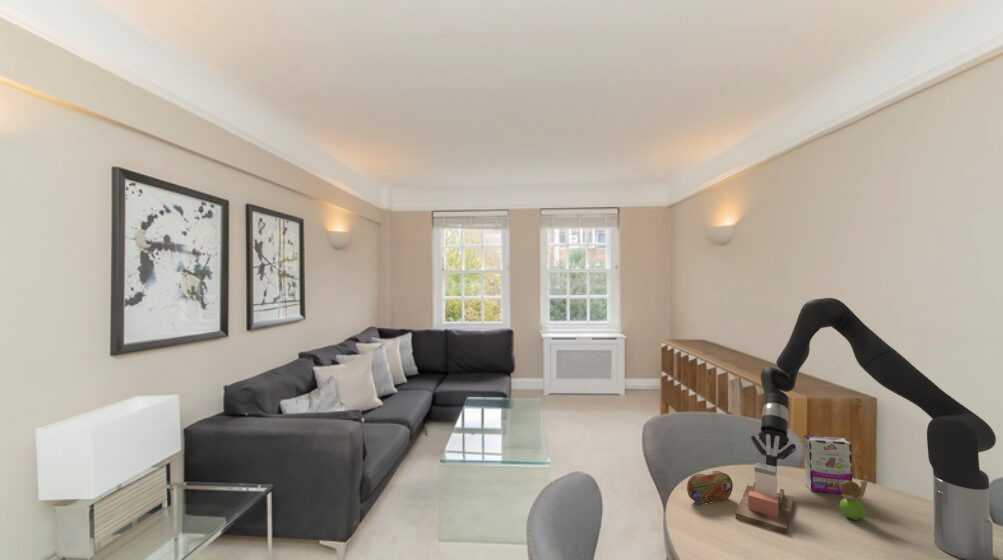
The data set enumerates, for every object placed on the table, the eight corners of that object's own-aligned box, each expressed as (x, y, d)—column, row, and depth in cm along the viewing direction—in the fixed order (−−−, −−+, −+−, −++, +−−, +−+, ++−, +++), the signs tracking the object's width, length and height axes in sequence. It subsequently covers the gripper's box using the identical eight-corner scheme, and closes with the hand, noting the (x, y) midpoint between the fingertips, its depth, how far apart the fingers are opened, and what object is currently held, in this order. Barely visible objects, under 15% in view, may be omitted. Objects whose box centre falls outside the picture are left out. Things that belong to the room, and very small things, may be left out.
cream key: (777, 500, 122) (776, 466, 122) (775, 506, 119) (775, 472, 119) (757, 495, 125) (756, 462, 125) (755, 501, 122) (754, 467, 122)
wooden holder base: (793, 502, 125) (793, 490, 125) (787, 534, 109) (786, 521, 109) (747, 489, 132) (747, 478, 132) (735, 518, 117) (735, 505, 117)
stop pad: (778, 512, 117) (778, 498, 117) (777, 517, 114) (777, 503, 114) (750, 504, 121) (749, 490, 121) (748, 509, 119) (748, 495, 119)
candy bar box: (845, 488, 132) (844, 437, 132) (853, 496, 127) (852, 443, 127) (804, 484, 135) (803, 434, 135) (810, 491, 130) (809, 439, 130)
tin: (692, 507, 123) (692, 478, 123) (685, 501, 126) (684, 474, 126) (733, 499, 127) (733, 471, 127) (725, 494, 130) (725, 467, 130)
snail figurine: (874, 525, 112) (873, 481, 113) (847, 522, 114) (846, 479, 114) (861, 514, 118) (860, 472, 118) (835, 511, 119) (834, 470, 119)
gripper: (750, 410, 143) (745, 458, 134) (797, 418, 135) (795, 469, 125) (753, 421, 147) (748, 468, 138) (799, 429, 139) (797, 480, 129)
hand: (771, 468), depth 132 cm, fingers closed
